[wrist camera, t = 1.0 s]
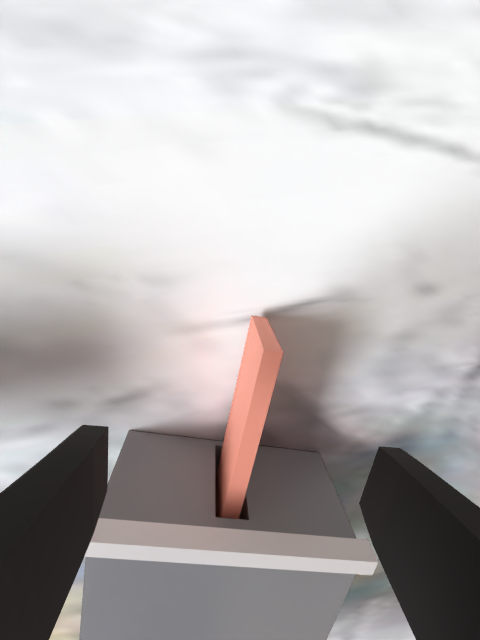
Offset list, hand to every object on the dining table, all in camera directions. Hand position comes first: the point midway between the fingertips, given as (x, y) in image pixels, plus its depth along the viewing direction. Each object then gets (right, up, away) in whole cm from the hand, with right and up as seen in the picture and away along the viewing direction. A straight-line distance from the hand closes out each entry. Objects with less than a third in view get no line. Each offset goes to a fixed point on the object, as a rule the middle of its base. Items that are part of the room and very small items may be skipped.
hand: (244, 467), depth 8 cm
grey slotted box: (-2, -7, +12) cm, 14 cm away
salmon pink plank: (0, -2, +10) cm, 10 cm away
